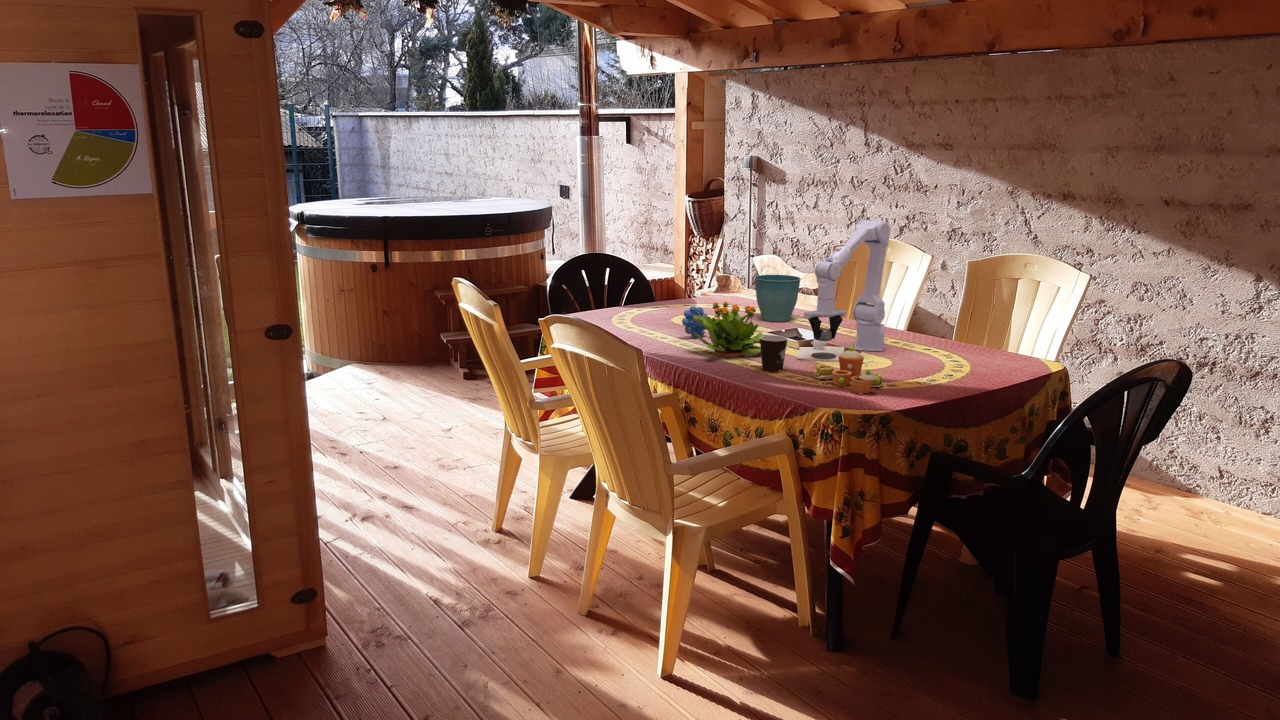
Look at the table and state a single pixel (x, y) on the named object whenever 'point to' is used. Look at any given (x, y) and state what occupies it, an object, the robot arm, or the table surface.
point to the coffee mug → (773, 352)
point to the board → (820, 352)
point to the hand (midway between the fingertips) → (824, 338)
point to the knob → (825, 334)
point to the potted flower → (731, 332)
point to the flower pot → (776, 296)
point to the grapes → (694, 322)
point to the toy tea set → (850, 373)
